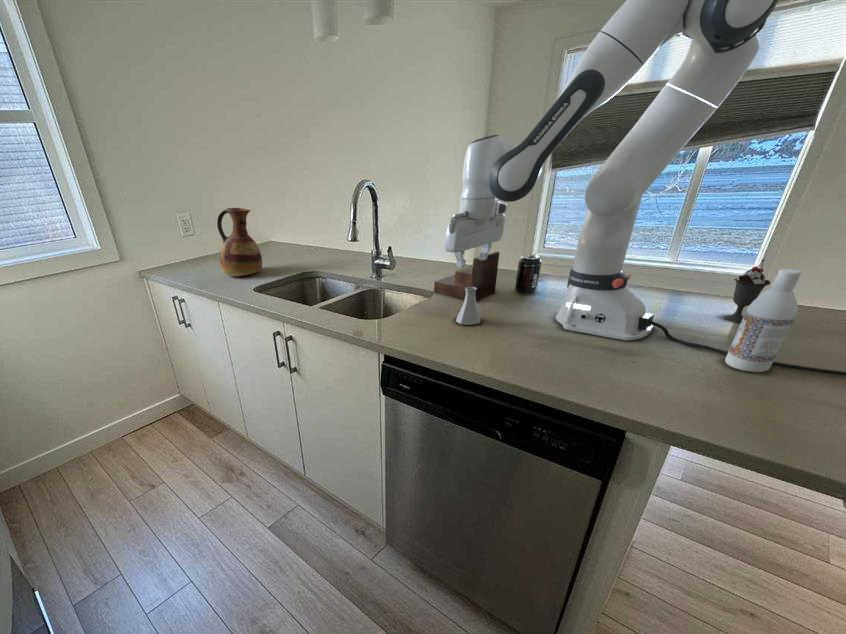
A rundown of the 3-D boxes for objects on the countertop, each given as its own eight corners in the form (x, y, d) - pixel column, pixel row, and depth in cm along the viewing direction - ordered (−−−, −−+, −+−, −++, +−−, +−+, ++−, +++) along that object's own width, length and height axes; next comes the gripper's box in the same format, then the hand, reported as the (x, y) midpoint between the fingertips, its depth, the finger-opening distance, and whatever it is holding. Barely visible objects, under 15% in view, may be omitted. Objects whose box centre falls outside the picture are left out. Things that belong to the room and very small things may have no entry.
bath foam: (724, 355, 89) (763, 265, 79) (767, 363, 85) (815, 268, 75) (723, 368, 85) (765, 273, 75) (769, 376, 81) (820, 277, 71)
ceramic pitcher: (260, 277, 186) (248, 208, 171) (218, 281, 187) (202, 212, 172) (267, 267, 203) (256, 203, 188) (228, 271, 204) (214, 207, 189)
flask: (478, 316, 122) (481, 284, 117) (483, 325, 115) (487, 291, 111) (453, 317, 123) (455, 285, 118) (457, 326, 116) (460, 292, 111)
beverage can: (539, 294, 134) (546, 257, 128) (518, 296, 135) (524, 259, 129) (531, 288, 140) (537, 253, 134) (511, 290, 141) (516, 255, 135)
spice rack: (494, 293, 139) (499, 251, 132) (472, 301, 133) (476, 259, 127) (455, 284, 152) (458, 246, 145) (433, 292, 146) (435, 252, 139)
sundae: (747, 315, 106) (772, 257, 99) (757, 324, 101) (784, 264, 94) (715, 313, 109) (737, 257, 102) (723, 322, 104) (747, 263, 97)
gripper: (461, 215, 97) (456, 273, 104) (511, 204, 106) (504, 257, 113) (440, 214, 101) (437, 269, 108) (490, 203, 111) (485, 254, 118)
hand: (472, 263), depth 111 cm, fingers open, 8 cm apart
